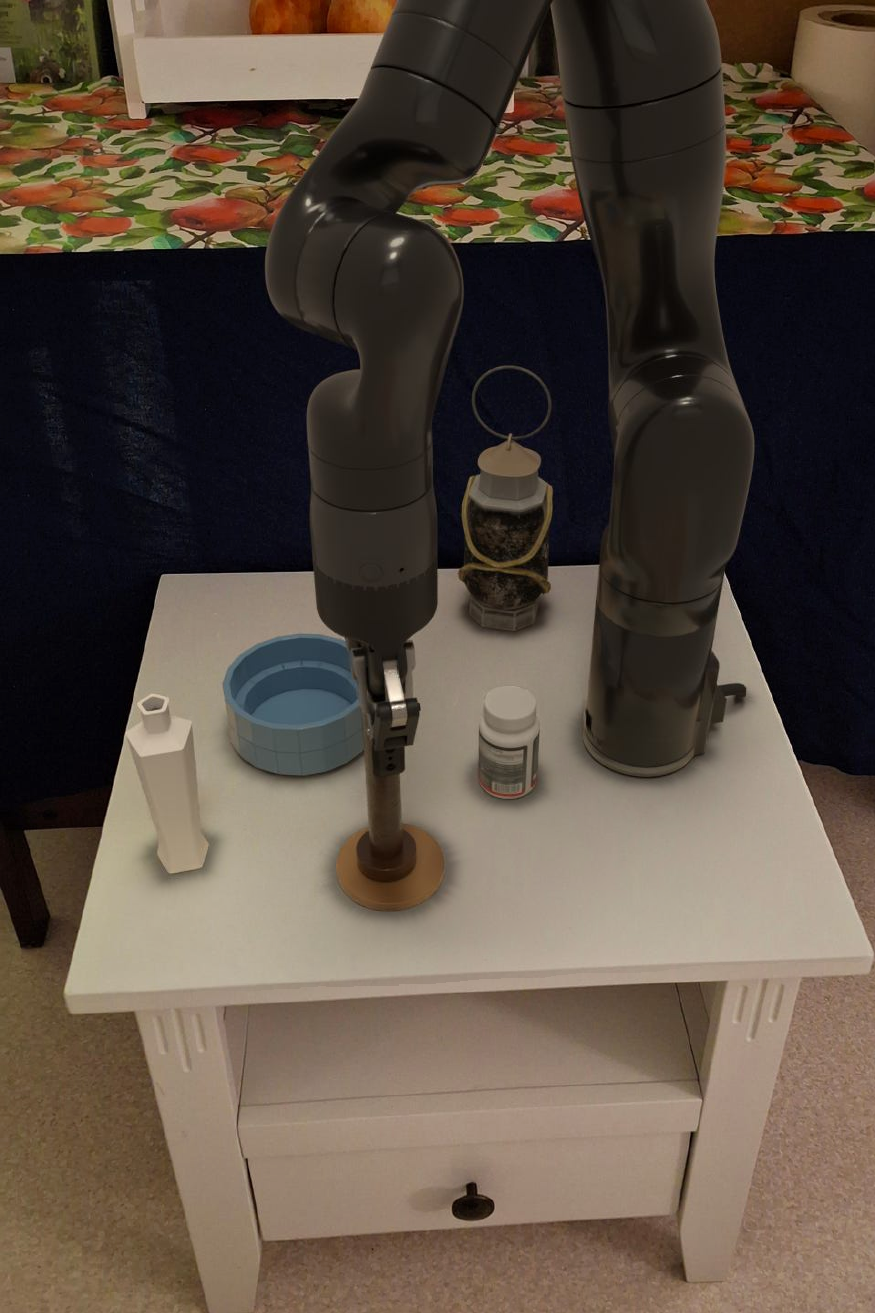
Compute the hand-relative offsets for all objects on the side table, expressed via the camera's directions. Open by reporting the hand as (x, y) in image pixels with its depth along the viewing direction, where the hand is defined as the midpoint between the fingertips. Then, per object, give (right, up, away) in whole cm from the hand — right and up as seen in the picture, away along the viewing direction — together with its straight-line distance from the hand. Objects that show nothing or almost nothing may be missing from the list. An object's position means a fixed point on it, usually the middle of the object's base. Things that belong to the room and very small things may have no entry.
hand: (383, 756), depth 84 cm
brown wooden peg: (0, -8, +6) cm, 10 cm away
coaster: (0, -9, +7) cm, 11 cm away
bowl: (-8, +1, +19) cm, 21 cm away
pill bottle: (+9, -3, +14) cm, 17 cm away
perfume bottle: (-16, -8, +8) cm, 20 cm away
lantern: (+10, +11, +32) cm, 35 cm away
